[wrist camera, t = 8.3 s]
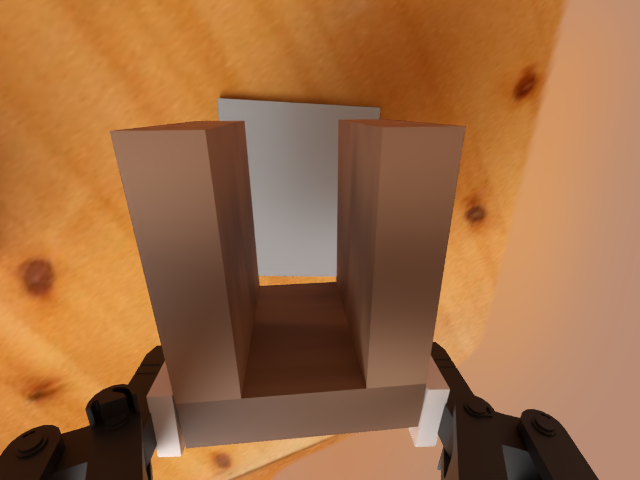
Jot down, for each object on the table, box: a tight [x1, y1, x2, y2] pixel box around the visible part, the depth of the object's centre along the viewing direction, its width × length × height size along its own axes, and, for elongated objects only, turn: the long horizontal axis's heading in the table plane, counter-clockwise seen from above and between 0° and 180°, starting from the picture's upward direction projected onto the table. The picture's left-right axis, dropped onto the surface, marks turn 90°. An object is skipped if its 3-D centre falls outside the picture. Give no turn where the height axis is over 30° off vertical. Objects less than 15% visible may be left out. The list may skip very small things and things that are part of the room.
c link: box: [110, 119, 466, 448], centre depth 12 cm, size 10×8×7 cm
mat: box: [218, 98, 381, 276], centre depth 22 cm, size 12×10×1 cm
